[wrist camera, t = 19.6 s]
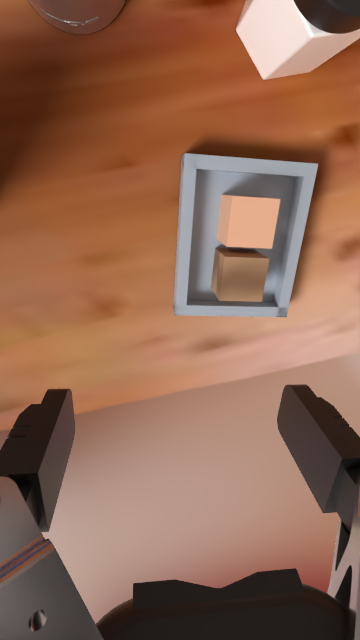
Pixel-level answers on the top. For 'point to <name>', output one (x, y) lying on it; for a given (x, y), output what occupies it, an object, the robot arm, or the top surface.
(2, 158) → the top surface
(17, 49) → the top surface
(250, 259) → the block walnut
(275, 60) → the jar
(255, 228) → the block terracotta
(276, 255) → the tray
